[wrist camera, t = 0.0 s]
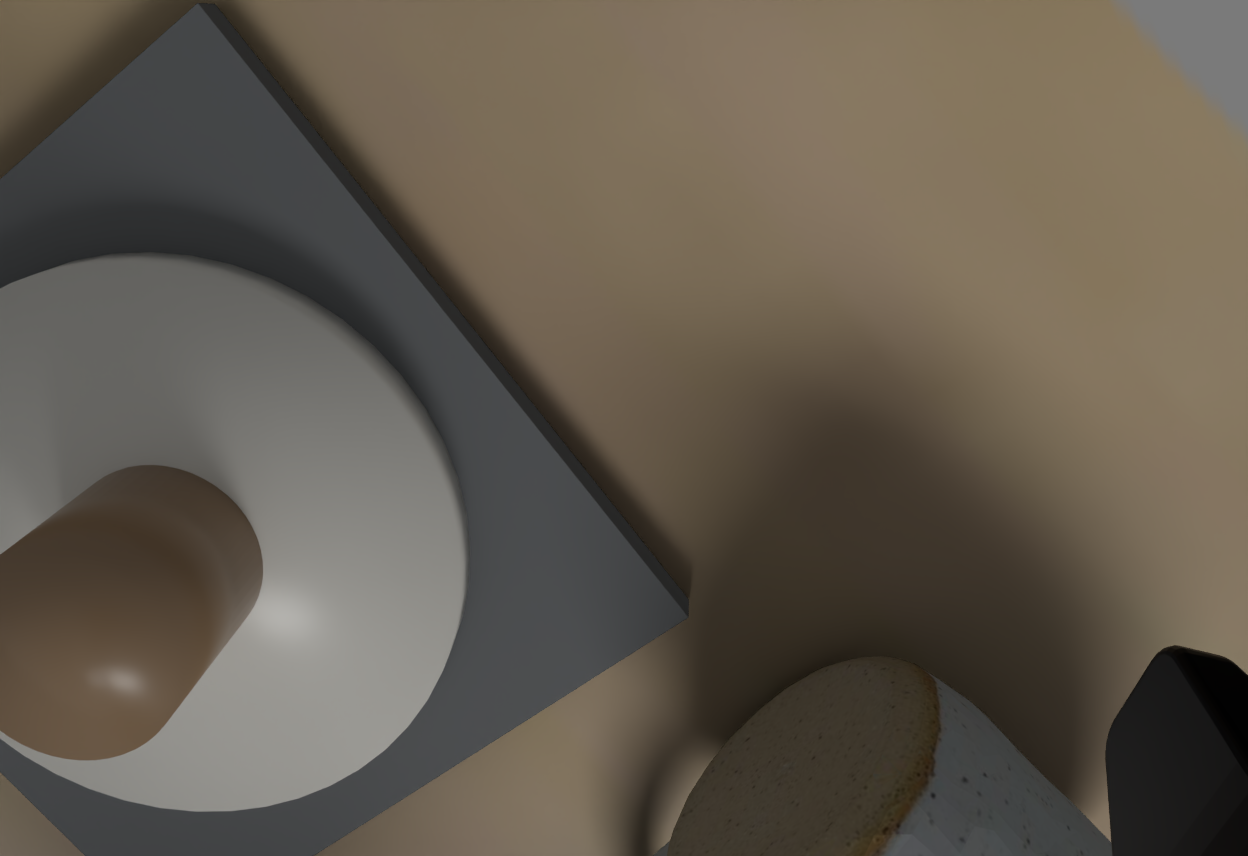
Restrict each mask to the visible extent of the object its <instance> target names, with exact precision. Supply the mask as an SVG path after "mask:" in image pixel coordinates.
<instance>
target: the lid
mask: <svg viewBox="0 0 1248 856" xmlns="http://www.w3.org/2000/svg"><path fill="white" fill-rule="evenodd" d="M469 573H470V540H469V530H468V520H467V512H466V508H465V504H464V500H463V496H462V492H461V488H460V484H459V480H458V476H457V474H456V471H455V469H454V466H453V464H452V461H451V458H450V456H449V453H448V451H447V448H446V446H445V443H444V441H443V439H442V437H441V436H440V434H439V432H438V430H437V428H436V427H435V425H434V423H433V421H432V419H431V417H430V416H429V414H428V412H427V410H426V408H425V407H424V406H423V404H422V403H421V401H420V400H419V399H418V397H417V396H416V395H415V393H414V392H413V390H412V389H411V388H410V386H409V385H408V383H407V382H406V381H405V379H404V378H403V377H402V375H401V374H400V373H399V372H398V371H397V370H396V369H395V368H394V367H393V366H392V365H391V364H390V362H389V361H388V360H387V359H386V358H385V357H384V356H383V355H382V354H381V353H380V352H379V351H378V350H377V348H376V347H375V346H374V345H372V344H371V343H370V342H369V341H368V340H366V339H365V338H364V337H363V336H362V335H360V334H359V333H358V332H357V331H356V330H355V329H353V328H352V327H351V326H350V325H349V324H347V323H346V322H345V321H344V320H343V319H341V318H340V317H338V316H337V315H335V314H334V313H332V312H331V311H329V310H327V309H326V308H324V307H323V306H321V305H320V304H318V303H317V302H315V301H314V300H312V299H311V298H309V297H308V296H306V295H304V294H302V293H300V292H298V291H296V290H294V289H292V288H290V287H288V286H286V285H284V284H282V283H279V282H277V281H275V280H273V279H271V278H269V277H266V276H263V275H260V274H258V273H255V272H252V271H249V270H246V269H244V268H241V267H238V266H235V265H232V264H228V263H223V262H219V261H214V260H210V259H205V258H201V257H196V256H192V255H180V254H169V253H158V252H138V253H116V254H107V255H102V256H97V257H91V258H86V259H80V260H75V261H72V262H69V263H66V264H63V265H60V266H57V267H54V268H51V269H48V270H45V271H42V272H39V273H36V274H34V275H31V276H28V277H26V278H23V279H20V280H18V281H15V282H12V283H10V284H8V285H6V286H4V287H2V288H0V739H1V740H3V741H4V742H5V743H7V744H8V745H10V746H11V747H12V748H14V749H15V750H16V751H18V752H19V753H21V754H22V755H23V756H25V757H27V758H29V759H30V760H32V761H34V762H36V763H37V764H39V765H41V766H43V767H44V768H46V769H48V770H50V771H51V772H53V773H55V774H57V775H59V776H61V777H64V778H66V779H68V780H70V781H73V782H75V783H77V784H79V785H82V786H84V787H86V788H88V789H91V790H94V791H97V792H100V793H103V794H106V795H109V796H112V797H115V798H118V799H122V800H125V801H129V802H134V803H139V804H144V805H148V806H153V807H158V808H165V809H175V810H185V811H194V812H208V811H237V810H245V809H253V808H260V807H267V806H271V805H275V804H279V803H283V802H287V801H290V800H294V799H298V798H301V797H303V796H306V795H309V794H311V793H314V792H316V791H319V790H321V789H324V788H326V787H329V786H331V785H333V784H334V783H336V782H338V781H340V780H342V779H343V778H345V777H347V776H349V775H351V774H352V773H354V772H356V771H358V770H359V769H361V768H362V767H363V766H365V765H366V764H367V763H369V762H370V761H371V760H373V759H374V758H375V757H377V756H378V755H379V754H381V753H382V752H383V751H384V750H386V749H387V748H388V747H389V746H390V745H391V744H392V743H393V742H394V741H395V740H396V738H397V737H398V736H399V735H400V734H401V733H402V732H403V731H404V730H405V729H406V728H407V727H408V726H409V725H410V724H411V722H412V721H413V719H414V718H415V717H416V715H417V714H418V713H419V711H420V710H421V708H422V707H423V706H424V704H425V703H426V702H427V700H428V698H429V697H430V695H431V693H432V691H433V689H434V687H435V685H436V683H437V681H438V679H439V677H440V675H441V674H442V672H443V669H444V667H445V664H446V662H447V659H448V657H449V654H450V652H451V649H452V647H453V644H454V641H455V638H456V635H457V632H458V629H459V626H460V623H461V620H462V617H463V613H464V608H465V603H466V597H467V592H468V586H469Z"/></svg>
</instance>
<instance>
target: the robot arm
mask: <svg viewBox="0 0 1248 856" xmlns="http://www.w3.org/2000/svg"><path fill="white" fill-rule="evenodd" d="M1106 773H1107V787H1108V801H1109V815H1110V829H1111V843H1112V856H1248V675H1247V674H1246V673H1245V672H1244V671H1243V670H1241V669H1240V668H1239V667H1238V666H1237V665H1236V664H1235V663H1234V662H1232V661H1231V660H1229V659H1227V658H1225V657H1223V656H1220V655H1216V654H1212V653H1207V652H1203V651H1199V650H1195V649H1190V648H1186V647H1182V646H1175V645H1174V646H1170V647H1166V648H1164V649H1162V650H1161V651H1160V652H1158V653H1157V654H1156V656H1155V657H1154V658H1153V659H1152V661H1151V662H1150V664H1149V665H1148V667H1147V669H1146V670H1145V672H1144V673H1143V675H1142V677H1141V678H1140V680H1139V681H1138V683H1137V684H1136V686H1135V688H1134V689H1133V691H1132V692H1131V694H1130V696H1129V697H1128V699H1127V700H1126V702H1125V703H1124V705H1123V707H1122V708H1121V710H1120V711H1119V713H1118V715H1117V716H1116V718H1115V719H1114V721H1113V723H1112V725H1111V728H1110V731H1109V734H1108V738H1107V743H1106Z"/></svg>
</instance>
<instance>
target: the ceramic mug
mask: <svg viewBox="0 0 1248 856" xmlns="http://www.w3.org/2000/svg"><path fill="white" fill-rule="evenodd" d="M653 856H1112V843H1111V842H1110V841H1109V840H1108V839H1107V838H1106V837H1105V836H1104V835H1103V834H1102V833H1101V832H1100V831H1099V830H1098V829H1097V828H1096V827H1095V826H1094V825H1093V823H1092V822H1091V821H1090V820H1089V819H1088V818H1087V817H1086V816H1085V815H1084V814H1083V813H1082V812H1081V811H1080V810H1079V809H1078V808H1077V807H1076V806H1075V805H1074V804H1073V803H1072V802H1071V801H1070V800H1069V799H1068V798H1067V797H1065V796H1064V795H1063V794H1062V793H1061V792H1060V791H1059V790H1058V789H1057V788H1056V787H1055V786H1054V785H1053V784H1051V783H1050V782H1049V781H1048V780H1047V779H1046V778H1045V777H1044V776H1043V775H1042V774H1041V773H1040V772H1039V771H1038V770H1037V769H1036V768H1035V767H1034V766H1033V765H1032V764H1031V763H1030V762H1029V761H1028V760H1027V759H1026V758H1025V757H1024V756H1023V755H1022V754H1021V753H1020V751H1019V750H1018V749H1017V748H1016V747H1015V746H1014V745H1013V744H1012V743H1011V742H1010V741H1009V740H1008V739H1007V738H1006V737H1005V736H1004V735H1003V733H1002V732H1001V731H1000V730H999V729H998V728H997V727H996V726H995V725H994V724H993V723H992V722H991V721H990V720H989V718H988V717H986V716H985V715H984V714H983V713H982V712H981V711H980V710H979V709H978V708H977V707H976V706H975V705H974V704H972V703H971V702H970V701H969V700H967V699H966V698H965V697H963V696H962V695H960V694H959V693H958V692H956V691H955V690H953V689H952V688H951V687H949V686H948V685H946V684H945V683H943V682H942V681H940V680H939V679H937V678H936V677H934V676H933V675H931V674H930V673H928V672H927V671H925V670H924V669H922V668H920V667H919V666H917V665H916V664H913V663H910V662H907V661H904V660H901V659H898V658H894V657H886V656H879V657H860V658H856V659H851V660H847V661H843V662H839V663H836V664H833V665H830V666H826V667H823V668H821V669H819V670H817V671H815V672H813V673H811V674H810V675H808V676H806V677H805V678H803V679H801V680H799V681H798V682H796V683H794V684H792V685H791V686H789V687H787V688H786V689H785V690H783V691H782V692H781V693H780V694H778V695H777V696H776V697H774V698H773V699H772V700H771V701H769V702H768V703H767V704H766V705H764V706H763V707H762V708H761V709H759V710H758V711H757V712H756V713H755V714H754V715H753V716H752V717H751V718H750V719H749V720H748V721H747V722H746V723H745V724H744V725H743V726H742V727H741V728H740V729H739V730H738V731H737V732H736V733H735V734H734V735H733V736H732V737H731V738H730V739H729V740H728V741H727V742H726V743H725V745H724V746H723V747H722V749H721V750H720V751H719V752H718V754H717V755H716V756H715V757H714V759H713V760H712V761H711V763H710V764H709V765H708V767H707V768H706V770H705V771H704V773H703V774H702V776H701V777H700V779H699V780H698V782H697V783H696V785H695V786H694V788H693V789H692V791H691V793H690V794H689V796H688V798H687V800H686V803H685V805H684V807H683V809H682V812H681V814H680V816H679V819H678V821H677V823H676V825H675V828H674V830H673V833H672V837H671V840H670V841H669V842H668V843H667V844H666V845H665V846H663V847H662V848H661V849H660V850H659V851H658V852H657V853H655V854H654V855H653Z"/></svg>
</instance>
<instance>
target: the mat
mask: <svg viewBox="0 0 1248 856" xmlns="http://www.w3.org/2000/svg"><path fill="white" fill-rule="evenodd" d="M138 252H158V253H169V254H180V255H192V256H196V257H201V258H205V259H210V260H214V261H219V262H223V263H228V264H232V265H235V266H238V267H241V268H244V269H246V270H249V271H252V272H255V273H258V274H260V275H263V276H266V277H269V278H271V279H273V280H275V281H277V282H279V283H282V284H284V285H286V286H288V287H290V288H292V289H294V290H296V291H298V292H300V293H302V294H304V295H306V296H308V297H309V298H311V299H312V300H314V301H315V302H317V303H318V304H320V305H321V306H323V307H324V308H326V309H327V310H329V311H331V312H332V313H334V314H335V315H337V316H338V317H340V318H341V319H343V320H344V321H345V322H346V323H347V324H349V325H350V326H351V327H352V328H353V329H355V330H356V331H357V332H358V333H359V334H360V335H362V336H363V337H364V338H365V339H366V340H368V341H369V342H370V343H371V344H372V345H374V346H375V347H376V348H377V350H378V351H379V352H380V353H381V354H382V355H383V356H384V357H385V358H386V359H387V360H388V361H389V362H390V364H391V365H392V366H393V367H394V368H395V369H396V370H397V371H398V372H399V373H400V374H401V375H402V377H403V378H404V379H405V381H406V382H407V383H408V385H409V386H410V388H411V389H412V390H413V392H414V393H415V395H416V396H417V397H418V399H419V400H420V401H421V403H422V404H423V406H424V407H425V408H426V410H427V412H428V414H429V416H430V417H431V419H432V421H433V423H434V425H435V427H436V428H437V430H438V432H439V434H440V436H441V437H442V439H443V441H444V443H445V446H446V448H447V451H448V453H449V456H450V458H451V461H452V464H453V466H454V469H455V471H456V474H457V476H458V480H459V484H460V488H461V492H462V496H463V500H464V504H465V508H466V512H467V520H468V530H469V540H470V573H469V586H468V592H467V597H466V603H465V608H464V613H463V617H462V620H461V623H460V626H459V629H458V632H457V635H456V638H455V641H454V644H453V647H452V649H451V652H450V654H449V657H448V659H447V662H446V664H445V667H444V669H443V672H442V674H441V675H440V677H439V679H438V681H437V683H436V685H435V687H434V689H433V691H432V693H431V695H430V697H429V698H428V700H427V702H426V703H425V704H424V706H423V707H422V708H421V710H420V711H419V713H418V714H417V715H416V717H415V718H414V719H413V721H412V722H411V724H410V725H409V726H408V727H407V728H406V729H405V730H404V731H403V732H402V733H401V734H400V735H399V736H398V737H397V738H396V740H395V741H394V742H393V743H392V744H391V745H390V746H389V747H388V748H387V749H386V750H384V751H383V752H382V753H381V754H379V755H378V756H377V757H375V758H374V759H373V760H371V761H370V762H369V763H367V764H366V765H365V766H363V767H362V768H361V769H359V770H358V771H356V772H354V773H352V774H351V775H349V776H347V777H345V778H343V779H342V780H340V781H338V782H336V783H334V784H333V785H331V786H329V787H326V788H324V789H321V790H319V791H316V792H314V793H311V794H309V795H306V796H303V797H301V798H298V799H294V800H290V801H287V802H283V803H279V804H275V805H271V806H267V807H260V808H253V809H245V810H237V811H208V812H194V811H185V810H175V809H165V808H158V807H153V806H148V805H144V804H139V803H134V802H129V801H125V800H122V799H118V798H115V797H112V796H109V795H106V794H103V793H100V792H97V791H94V790H91V789H88V788H86V787H84V786H82V785H79V784H77V783H75V782H73V781H70V780H68V779H66V778H64V777H61V776H59V775H57V774H55V773H53V772H51V771H50V770H48V769H46V768H44V767H43V766H41V765H39V764H37V763H36V762H34V761H32V760H30V759H29V758H27V757H25V756H23V755H22V754H21V753H19V752H18V751H16V750H15V749H14V748H12V747H11V746H10V745H8V744H7V743H5V742H4V741H3V740H1V739H0V772H1V773H2V774H3V775H4V776H5V777H6V778H7V779H8V780H9V781H10V782H11V783H12V784H13V785H14V786H15V787H16V788H17V789H18V790H19V791H20V792H21V793H22V794H23V795H24V796H25V797H26V798H27V799H28V800H29V801H30V802H31V803H32V804H33V805H34V806H35V807H36V808H37V809H38V810H39V811H40V812H41V813H42V814H43V815H44V816H45V817H46V818H47V819H48V820H49V821H50V822H51V823H52V824H53V825H54V826H55V827H57V828H58V829H59V830H60V831H61V832H62V833H63V834H64V835H65V836H66V837H67V838H68V839H69V840H70V841H71V842H72V843H73V844H74V845H75V846H76V847H77V848H78V849H79V850H80V851H81V852H82V853H83V854H84V855H85V856H314V855H315V854H317V853H319V852H320V851H322V850H323V849H325V848H326V847H328V846H330V845H331V844H333V843H334V842H336V841H337V840H339V839H341V838H342V837H344V836H345V835H347V834H348V833H350V832H352V831H353V830H355V829H356V828H358V827H360V826H361V825H363V824H364V823H366V822H367V821H369V820H371V819H372V818H374V817H375V816H377V815H378V814H380V813H382V812H383V811H385V810H386V809H388V808H389V807H391V806H393V805H394V804H396V803H397V802H399V801H400V800H402V799H404V798H405V797H407V796H408V795H410V794H411V793H413V792H415V791H416V790H418V789H419V788H421V787H422V786H424V785H426V784H427V783H429V782H430V781H432V780H433V779H435V778H437V777H438V776H440V775H441V774H443V773H444V772H446V771H448V770H449V769H451V768H452V767H454V766H455V765H457V764H459V763H460V762H462V761H463V760H465V759H466V758H468V757H470V756H471V755H473V754H474V753H476V752H477V751H479V750H481V749H482V748H484V747H485V746H487V745H488V744H490V743H492V742H493V741H495V740H496V739H498V738H500V737H501V736H503V735H504V734H506V733H507V732H509V731H511V730H512V729H514V728H515V727H517V726H518V725H520V724H522V723H523V722H525V721H526V720H528V719H529V718H531V717H533V716H534V715H536V714H537V713H539V712H540V711H542V710H544V709H545V708H547V707H548V706H550V705H551V704H553V703H555V702H556V701H558V700H559V699H561V698H562V697H564V696H566V695H567V694H569V693H570V692H572V691H573V690H575V689H577V688H578V687H580V686H581V685H583V684H584V683H586V682H588V681H589V680H591V679H592V678H594V677H595V676H597V675H599V674H600V673H602V672H603V671H605V670H606V669H608V668H610V667H611V666H613V665H614V664H616V663H617V662H619V661H621V660H622V659H624V658H625V657H627V656H629V655H630V654H632V653H633V652H635V651H636V650H638V649H640V648H641V647H643V646H644V645H646V644H647V643H649V642H651V641H652V640H654V639H655V638H657V637H658V636H660V635H662V634H663V633H665V632H666V631H668V630H669V629H671V628H673V627H674V626H676V625H677V624H679V623H680V622H682V621H684V620H685V619H687V618H688V616H689V600H688V598H687V597H686V596H685V594H684V593H683V592H682V591H681V589H680V588H679V587H678V586H677V584H676V583H675V582H674V581H673V579H672V578H671V577H670V576H669V574H668V573H667V572H666V571H665V569H664V568H663V567H662V566H661V564H660V563H659V562H658V561H657V559H656V558H655V557H654V556H653V554H652V553H651V552H650V550H649V549H648V548H647V547H646V545H645V544H644V543H643V542H642V540H641V539H640V538H639V537H638V535H637V534H636V533H635V532H634V530H633V529H632V528H631V527H630V525H629V524H628V523H627V522H626V520H625V519H624V518H623V517H622V515H621V514H620V513H619V511H618V510H617V509H616V508H615V506H614V505H613V504H612V503H611V501H610V500H609V499H608V498H607V496H606V495H605V494H604V493H603V491H602V490H601V489H600V488H599V486H598V485H597V484H596V483H595V481H594V480H593V479H592V478H591V476H590V475H589V474H588V473H587V471H586V470H585V469H584V467H583V466H582V465H581V464H580V462H579V461H578V460H577V459H576V457H575V456H574V455H573V454H572V452H571V451H570V450H569V449H568V447H567V446H566V445H565V444H564V442H563V441H562V440H561V439H560V437H559V436H558V435H557V434H556V432H555V431H554V430H553V429H552V427H551V426H550V425H549V423H548V422H547V421H546V420H545V418H544V417H543V416H542V415H541V413H540V412H539V411H538V410H537V408H536V407H535V406H534V405H533V403H532V402H531V401H530V400H529V398H528V397H527V396H526V395H525V393H524V392H523V391H522V390H521V388H520V387H519V386H518V385H517V383H516V382H515V381H514V379H513V378H512V377H511V376H510V374H509V373H508V372H507V371H506V369H505V368H504V367H503V366H502V364H501V363H500V362H499V361H498V359H497V358H496V357H495V356H494V354H493V353H492V352H491V351H490V349H489V348H488V347H487V346H486V344H485V343H484V342H483V340H482V339H481V338H480V337H479V335H478V334H477V333H476V332H475V330H474V329H473V328H472V327H471V325H470V324H469V323H468V322H467V320H466V319H465V318H464V317H463V315H462V314H461V313H460V312H459V310H458V309H457V308H456V307H455V305H454V304H453V303H452V302H451V300H450V299H449V298H448V296H447V295H446V294H445V293H444V291H443V290H442V289H441V288H440V286H439V285H438V284H437V283H436V281H435V280H434V279H433V278H432V276H431V275H430V274H429V273H428V271H427V270H426V269H425V268H424V266H423V265H422V264H421V263H420V261H419V260H418V259H417V258H416V256H415V255H414V254H413V252H412V251H411V250H410V249H409V247H408V246H407V245H406V244H405V242H404V241H403V240H402V239H401V237H400V236H399V235H398V234H397V232H396V231H395V230H394V229H393V227H392V226H391V225H390V224H389V222H388V221H387V220H386V219H385V217H384V216H383V215H382V214H381V212H380V211H379V210H378V208H377V207H376V206H375V205H374V203H373V202H372V201H371V200H370V198H369V197H368V196H367V195H366V193H365V192H364V191H363V190H362V188H361V187H360V186H359V185H358V183H357V182H356V181H355V180H354V178H353V177H352V176H351V175H350V173H349V172H348V171H347V170H346V168H345V167H344V166H343V164H342V163H341V162H340V161H339V159H338V158H337V157H336V156H335V154H334V153H333V152H332V151H331V149H330V148H329V147H328V146H327V144H326V143H325V142H324V141H323V139H322V138H321V137H320V136H319V134H318V133H317V132H316V131H315V129H314V128H313V127H312V125H311V124H310V123H309V122H308V120H307V119H306V118H305V117H304V115H303V114H302V113H301V112H300V110H299V109H298V108H297V107H296V105H295V104H294V103H293V102H292V100H291V99H290V98H289V97H288V95H287V94H286V93H285V92H284V90H283V89H282V88H281V87H280V85H279V84H278V83H277V81H276V80H275V79H274V78H273V76H272V75H271V74H270V73H269V71H268V70H267V69H266V68H265V66H264V65H263V64H262V63H261V61H260V60H259V59H258V58H257V56H256V55H255V54H254V53H253V51H252V50H251V49H250V48H249V46H248V45H247V44H246V43H245V41H244V40H243V39H242V37H241V36H240V35H239V34H238V32H237V31H236V30H235V29H234V27H233V26H232V25H231V24H230V22H229V21H228V20H227V19H226V17H225V16H224V15H223V14H222V12H221V11H220V10H219V9H218V7H217V6H216V5H215V4H207V3H197V4H196V5H195V6H194V7H193V8H192V9H190V10H189V11H188V12H187V13H186V14H185V15H184V16H183V17H182V18H180V19H179V20H178V21H177V22H176V23H175V24H174V25H173V26H171V27H170V28H169V29H168V30H167V31H166V32H165V33H164V34H162V35H161V36H160V37H159V38H158V39H157V40H156V41H155V42H153V43H152V44H151V45H150V46H149V47H148V48H147V49H146V50H145V51H143V52H142V53H141V54H140V55H139V56H138V57H137V58H136V59H134V60H133V61H132V62H131V63H130V64H129V65H128V66H127V67H125V68H124V69H123V70H122V71H121V72H120V73H119V74H118V75H116V76H115V77H114V78H113V79H112V80H111V81H110V82H109V83H108V84H106V85H105V86H104V87H103V88H102V89H101V90H100V91H99V92H97V93H96V94H95V95H94V96H93V97H92V98H91V99H90V100H88V101H87V102H86V103H85V104H84V105H83V106H82V107H81V108H80V109H78V110H77V111H76V112H75V113H74V114H73V115H72V116H71V117H69V118H68V119H67V120H66V121H65V122H64V123H63V124H62V125H60V126H59V127H58V128H57V129H56V130H55V131H54V132H53V133H51V134H50V135H49V136H48V137H47V138H46V139H45V140H44V141H43V142H41V143H40V144H39V145H38V146H37V147H36V148H35V149H34V150H32V151H31V152H30V153H29V154H28V155H27V156H26V157H25V158H23V159H22V160H21V161H20V162H19V163H18V164H17V165H16V166H14V167H13V168H12V169H11V170H10V171H9V172H8V173H7V174H6V175H4V176H3V177H2V178H1V179H0V288H2V287H4V286H6V285H8V284H10V283H12V282H15V281H18V280H20V279H23V278H26V277H28V276H31V275H34V274H36V273H39V272H42V271H45V270H48V269H51V268H54V267H57V266H60V265H63V264H66V263H69V262H72V261H75V260H80V259H86V258H91V257H97V256H102V255H107V254H116V253H138Z"/></svg>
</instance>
